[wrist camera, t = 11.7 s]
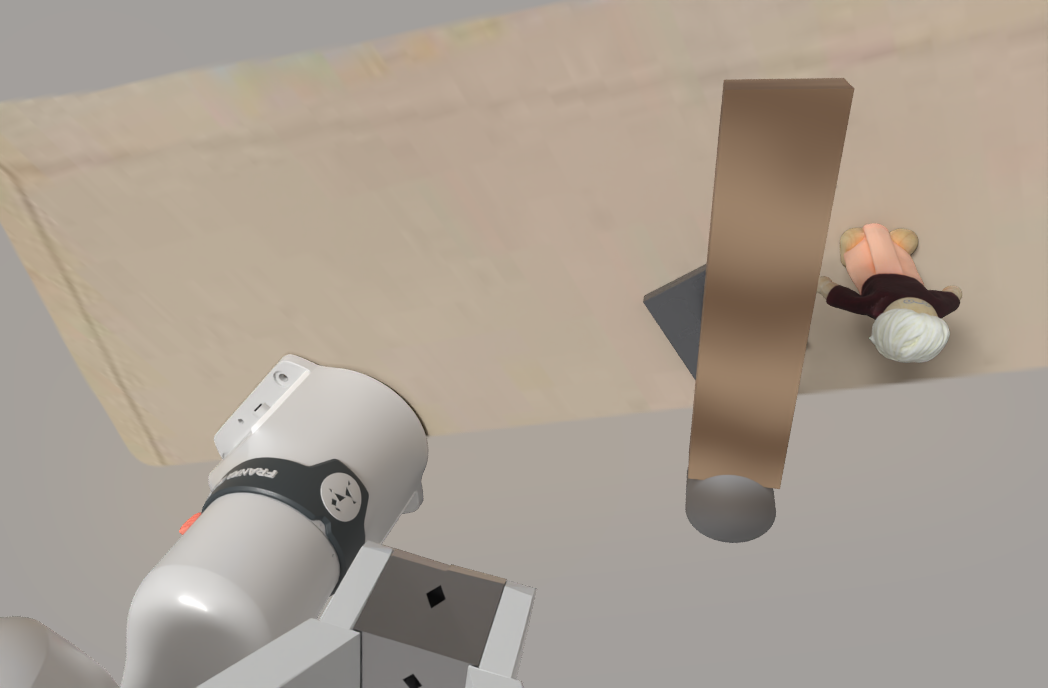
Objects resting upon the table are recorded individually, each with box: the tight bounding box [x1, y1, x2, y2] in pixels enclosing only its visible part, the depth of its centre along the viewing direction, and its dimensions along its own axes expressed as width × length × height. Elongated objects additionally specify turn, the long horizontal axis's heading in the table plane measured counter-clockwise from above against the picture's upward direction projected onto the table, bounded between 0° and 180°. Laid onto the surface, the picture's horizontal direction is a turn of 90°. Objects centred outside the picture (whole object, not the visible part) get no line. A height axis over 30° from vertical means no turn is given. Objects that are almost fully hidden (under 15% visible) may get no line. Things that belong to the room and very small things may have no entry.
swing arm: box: [686, 78, 854, 543], centre depth 28 cm, size 20×4×2 cm, turn 3°
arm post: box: [643, 264, 707, 380], centre depth 41 cm, size 8×8×17 cm
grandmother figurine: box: [817, 223, 962, 363], centre depth 38 cm, size 8×4×13 cm, turn 102°
